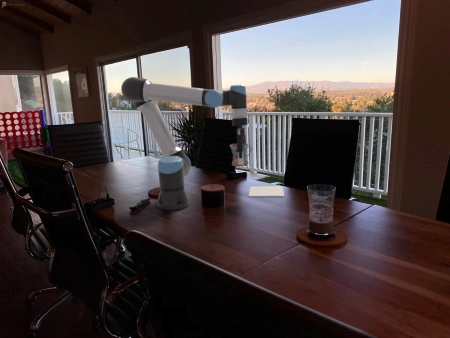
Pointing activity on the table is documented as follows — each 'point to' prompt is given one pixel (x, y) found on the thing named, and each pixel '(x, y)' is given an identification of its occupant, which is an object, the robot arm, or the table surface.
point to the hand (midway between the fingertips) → (242, 162)
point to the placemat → (266, 191)
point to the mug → (235, 154)
